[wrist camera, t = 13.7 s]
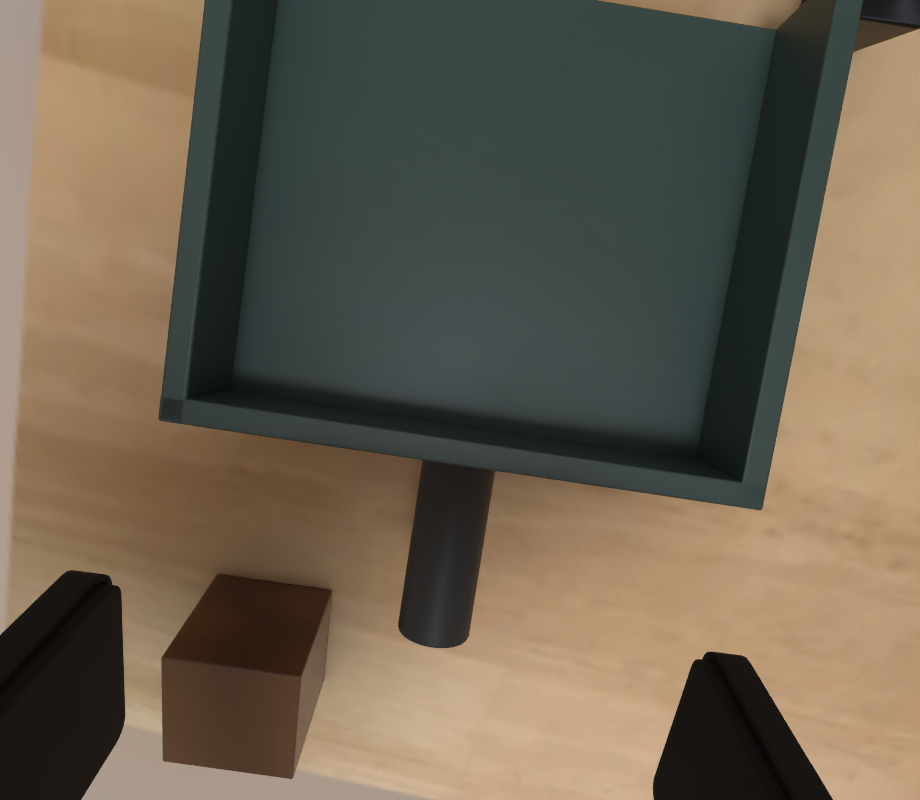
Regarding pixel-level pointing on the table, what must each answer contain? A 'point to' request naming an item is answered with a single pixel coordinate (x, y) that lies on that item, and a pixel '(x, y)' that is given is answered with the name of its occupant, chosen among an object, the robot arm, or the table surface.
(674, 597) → the table surface
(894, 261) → the table surface
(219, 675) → the block
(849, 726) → the table surface
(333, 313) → the dustpan
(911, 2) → the pair of dark blocks
